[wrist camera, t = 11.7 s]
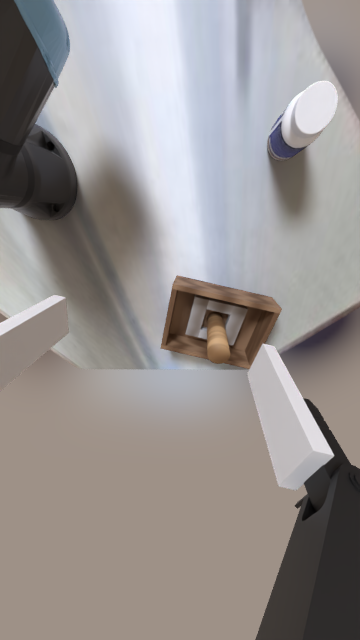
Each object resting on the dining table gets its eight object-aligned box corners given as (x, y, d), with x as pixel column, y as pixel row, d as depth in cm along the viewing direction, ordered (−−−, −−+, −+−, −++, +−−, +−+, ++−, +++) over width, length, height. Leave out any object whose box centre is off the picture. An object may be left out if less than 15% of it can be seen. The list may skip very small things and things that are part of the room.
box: (165, 333, 52) (160, 348, 46) (176, 275, 44) (172, 283, 38) (246, 352, 52) (251, 369, 46) (271, 297, 44) (282, 309, 38)
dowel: (209, 310, 46) (211, 343, 34) (225, 313, 46) (233, 348, 34) (204, 324, 48) (204, 360, 36) (220, 328, 48) (226, 365, 36)
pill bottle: (296, 162, 33) (330, 142, 24) (262, 159, 33) (283, 138, 24) (310, 116, 30) (353, 74, 21) (272, 113, 31) (300, 71, 22)
